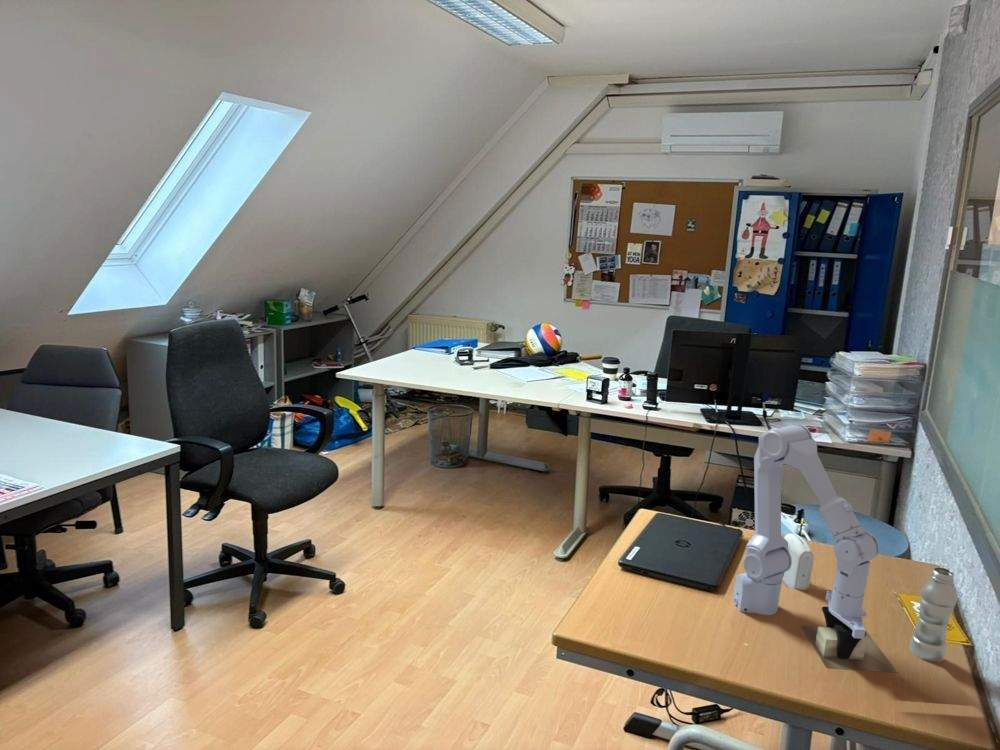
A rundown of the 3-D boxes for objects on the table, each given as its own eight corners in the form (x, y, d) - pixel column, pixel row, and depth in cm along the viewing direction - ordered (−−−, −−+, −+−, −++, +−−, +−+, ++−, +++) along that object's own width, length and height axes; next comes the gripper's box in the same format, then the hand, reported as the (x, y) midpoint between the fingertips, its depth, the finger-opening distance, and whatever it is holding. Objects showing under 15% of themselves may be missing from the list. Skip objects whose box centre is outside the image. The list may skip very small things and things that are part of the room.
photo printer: (810, 595, 178) (818, 548, 175) (792, 595, 178) (800, 547, 175) (791, 574, 188) (799, 529, 185) (775, 574, 188) (782, 528, 185)
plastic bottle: (900, 653, 157) (917, 566, 152) (922, 646, 160) (940, 561, 155) (927, 671, 151) (947, 581, 146) (950, 664, 154) (969, 576, 149)
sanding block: (823, 656, 152) (826, 639, 151) (815, 643, 156) (818, 626, 155) (863, 659, 151) (866, 642, 150) (854, 646, 156) (857, 629, 155)
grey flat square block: (825, 674, 148) (826, 667, 148) (799, 631, 163) (800, 625, 162) (896, 679, 148) (898, 673, 148) (864, 636, 162) (865, 630, 162)
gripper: (885, 610, 143) (873, 673, 146) (854, 573, 157) (843, 631, 160) (848, 608, 143) (837, 670, 147) (820, 571, 157) (810, 628, 161)
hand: (838, 649), depth 154 cm, fingers closed on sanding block, 4 cm apart
